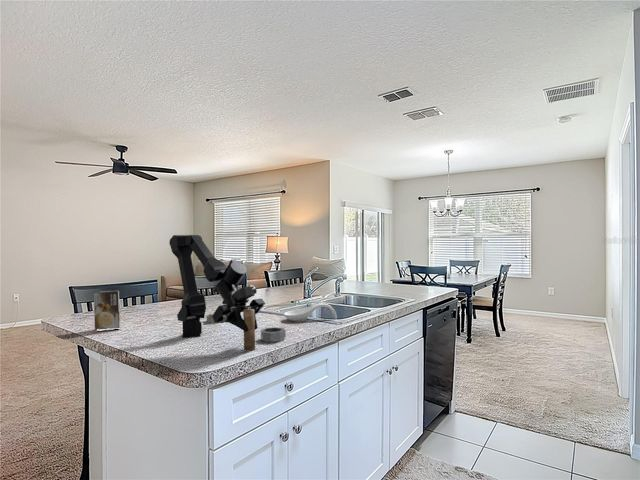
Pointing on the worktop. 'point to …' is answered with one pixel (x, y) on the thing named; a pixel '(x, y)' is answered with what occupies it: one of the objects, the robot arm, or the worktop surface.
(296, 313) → the spoon rest
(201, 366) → the worktop surface
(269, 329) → the ring
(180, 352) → the worktop surface
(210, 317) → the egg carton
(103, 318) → the coffee box
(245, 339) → the dowel
